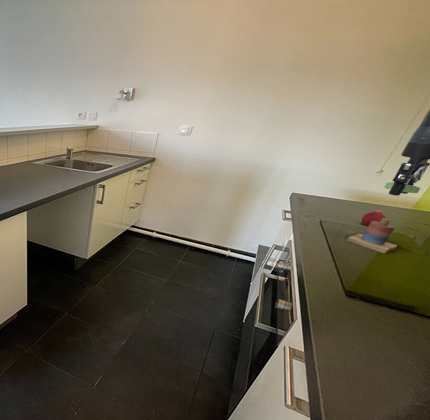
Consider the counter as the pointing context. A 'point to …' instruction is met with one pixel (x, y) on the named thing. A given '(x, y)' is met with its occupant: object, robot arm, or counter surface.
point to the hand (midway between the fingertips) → (397, 193)
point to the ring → (407, 188)
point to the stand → (375, 236)
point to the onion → (372, 217)
